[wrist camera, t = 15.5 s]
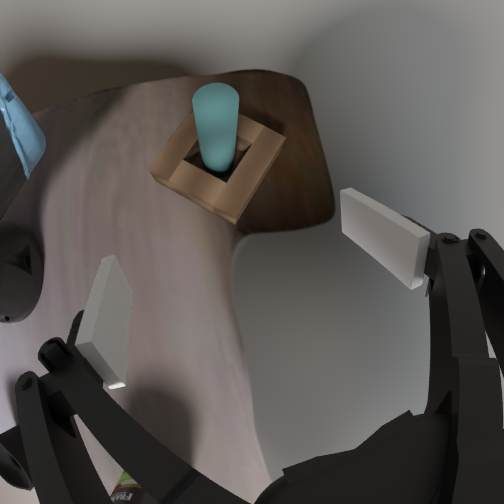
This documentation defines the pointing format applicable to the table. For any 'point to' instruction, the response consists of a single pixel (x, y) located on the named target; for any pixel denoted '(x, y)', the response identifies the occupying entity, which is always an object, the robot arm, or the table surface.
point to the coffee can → (130, 492)
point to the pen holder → (14, 460)
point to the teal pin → (216, 126)
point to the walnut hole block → (206, 185)
